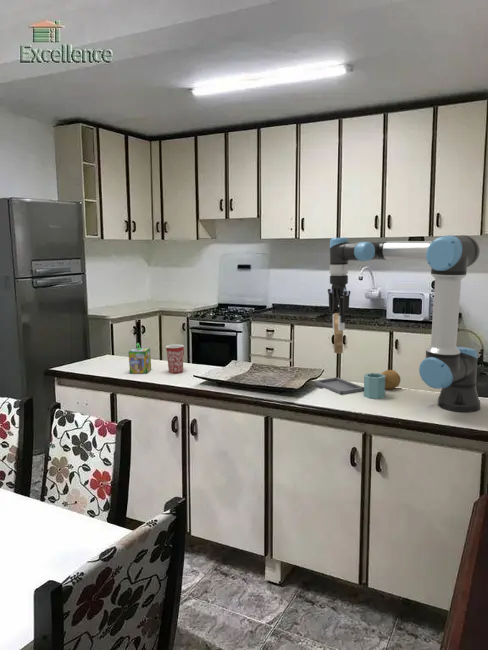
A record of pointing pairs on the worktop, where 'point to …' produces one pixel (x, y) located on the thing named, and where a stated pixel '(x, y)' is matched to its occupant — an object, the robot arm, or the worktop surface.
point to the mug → (175, 358)
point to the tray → (338, 386)
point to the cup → (374, 385)
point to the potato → (391, 379)
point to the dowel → (337, 336)
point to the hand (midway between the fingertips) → (338, 329)
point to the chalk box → (139, 360)
